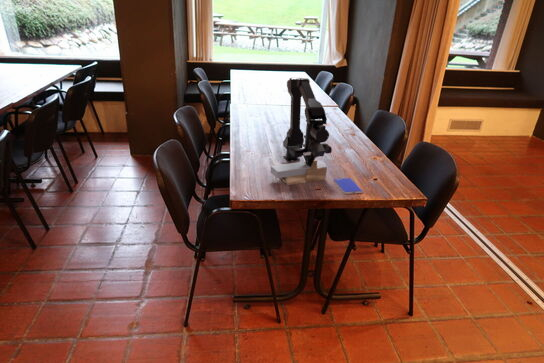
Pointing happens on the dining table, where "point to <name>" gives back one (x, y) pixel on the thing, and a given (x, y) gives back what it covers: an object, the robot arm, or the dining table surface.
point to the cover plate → (289, 169)
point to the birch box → (307, 175)
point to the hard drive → (347, 185)
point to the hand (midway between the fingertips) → (308, 168)
